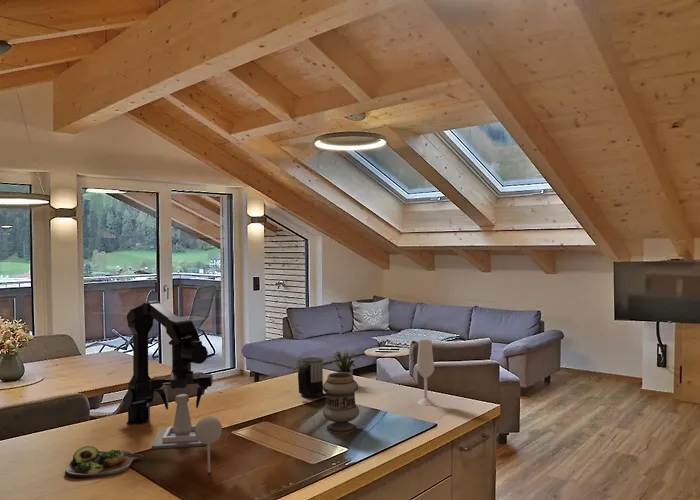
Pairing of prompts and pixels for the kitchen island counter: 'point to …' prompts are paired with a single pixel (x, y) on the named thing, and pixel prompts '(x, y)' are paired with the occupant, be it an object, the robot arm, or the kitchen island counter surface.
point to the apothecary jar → (340, 402)
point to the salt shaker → (182, 416)
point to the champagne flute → (425, 366)
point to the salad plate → (98, 462)
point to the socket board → (175, 439)
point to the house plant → (344, 362)
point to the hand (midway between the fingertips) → (182, 408)
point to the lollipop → (208, 432)
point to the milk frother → (311, 378)
